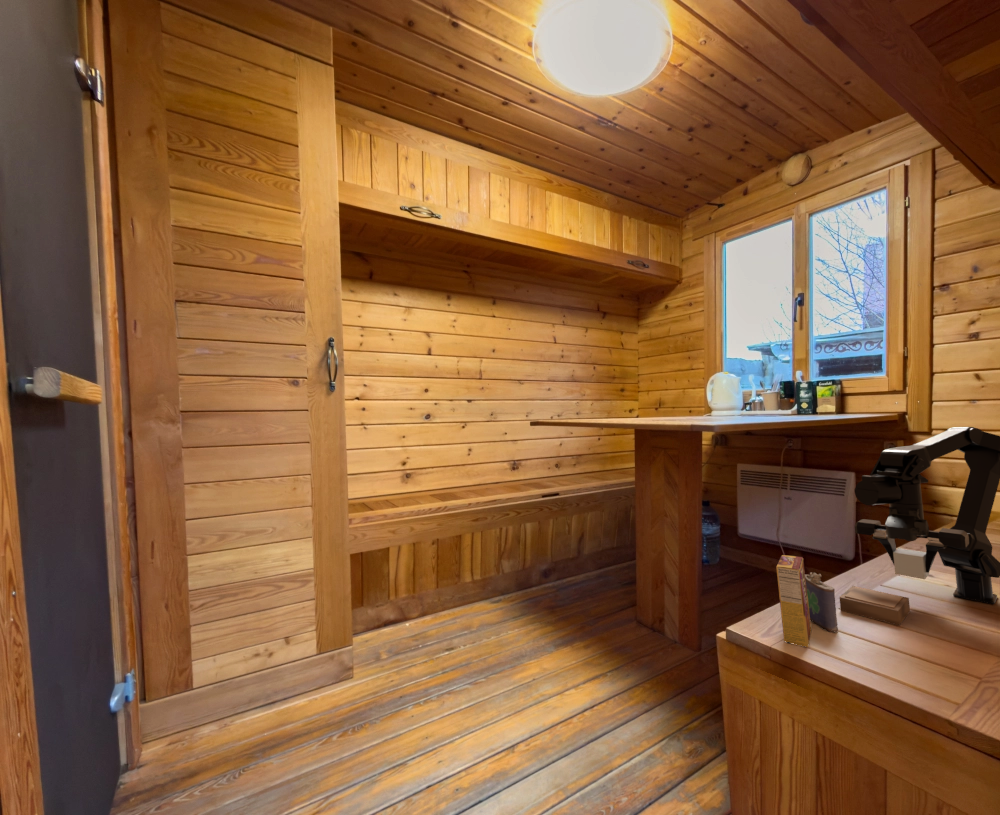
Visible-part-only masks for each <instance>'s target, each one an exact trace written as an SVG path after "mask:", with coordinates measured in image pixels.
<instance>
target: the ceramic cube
mask: <svg viewBox="0 0 1000 815" xmlns="http://www.w3.org/2000/svg"><path fill="white" fill-rule="evenodd" d="M893 556H894V564H893V566H894V573H895V575H899V576H906V577H909V578H916V579H920V580H926V579H927V578H928V576H930V572H929V573H928V572H926V567H925V564H926V551H921V550H920V551H919V550H914V549H907V548H901V547H900V548H899V547H898V548H896V550H895V551H894V552H893Z"/></svg>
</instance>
